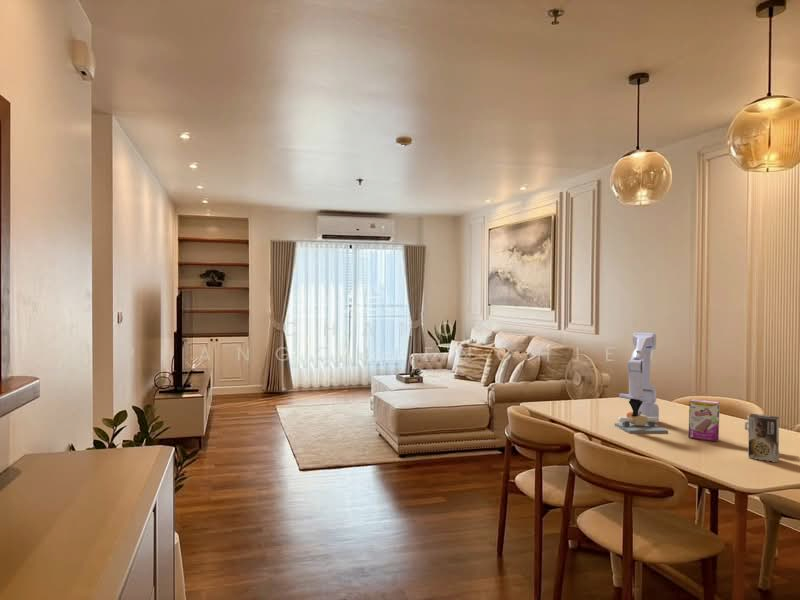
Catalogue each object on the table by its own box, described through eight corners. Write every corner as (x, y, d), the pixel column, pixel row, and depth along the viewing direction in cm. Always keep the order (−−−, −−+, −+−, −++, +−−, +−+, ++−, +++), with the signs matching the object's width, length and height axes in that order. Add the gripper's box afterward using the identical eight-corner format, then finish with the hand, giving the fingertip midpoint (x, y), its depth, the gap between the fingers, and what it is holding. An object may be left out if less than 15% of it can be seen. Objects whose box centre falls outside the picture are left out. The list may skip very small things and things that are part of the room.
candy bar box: (688, 438, 228) (688, 400, 227) (689, 435, 232) (690, 398, 232) (718, 442, 221) (719, 403, 221) (719, 440, 225) (719, 401, 225)
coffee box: (779, 459, 198) (779, 416, 198) (776, 463, 193) (777, 419, 193) (750, 454, 204) (750, 413, 204) (747, 458, 199) (748, 415, 199)
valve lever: (637, 413, 246) (637, 409, 246) (642, 414, 244) (642, 410, 244) (626, 417, 238) (626, 413, 238) (631, 418, 236) (631, 414, 236)
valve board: (651, 425, 250) (651, 412, 250) (668, 433, 236) (668, 418, 236) (614, 425, 249) (614, 412, 249) (629, 433, 235) (629, 418, 235)
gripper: (615, 384, 241) (615, 414, 241) (647, 389, 230) (646, 420, 230) (623, 383, 245) (623, 412, 245) (655, 387, 234) (654, 418, 234)
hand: (635, 416), depth 238 cm, fingers closed, pressing on valve lever
